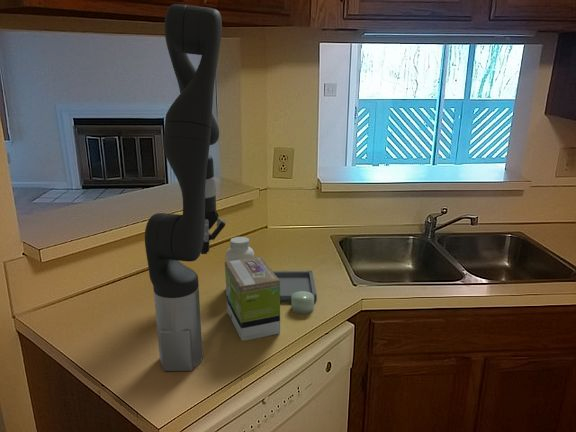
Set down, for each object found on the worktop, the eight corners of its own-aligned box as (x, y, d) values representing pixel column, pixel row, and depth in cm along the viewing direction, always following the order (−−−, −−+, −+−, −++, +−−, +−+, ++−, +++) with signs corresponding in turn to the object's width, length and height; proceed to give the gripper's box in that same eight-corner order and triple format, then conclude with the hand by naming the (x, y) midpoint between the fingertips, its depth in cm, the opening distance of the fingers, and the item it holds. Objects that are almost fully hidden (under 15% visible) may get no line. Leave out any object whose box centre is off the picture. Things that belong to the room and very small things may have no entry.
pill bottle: (236, 280, 145) (235, 233, 141) (260, 285, 142) (259, 237, 137) (221, 291, 138) (219, 242, 134) (246, 297, 135) (245, 247, 130)
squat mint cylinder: (314, 313, 127) (315, 301, 126) (291, 314, 127) (291, 301, 126) (313, 302, 133) (313, 291, 132) (290, 302, 133) (291, 291, 131)
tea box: (225, 312, 127) (223, 260, 123) (262, 306, 131) (261, 254, 126) (241, 342, 114) (239, 285, 109) (281, 334, 117) (281, 278, 113)
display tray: (316, 301, 133) (316, 295, 133) (255, 301, 133) (255, 295, 132) (312, 276, 148) (312, 270, 148) (257, 276, 148) (257, 271, 147)
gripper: (173, 197, 127) (178, 258, 133) (224, 197, 128) (227, 258, 133) (179, 189, 134) (183, 248, 140) (227, 189, 135) (229, 248, 140)
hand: (204, 253), depth 136 cm, fingers closed
